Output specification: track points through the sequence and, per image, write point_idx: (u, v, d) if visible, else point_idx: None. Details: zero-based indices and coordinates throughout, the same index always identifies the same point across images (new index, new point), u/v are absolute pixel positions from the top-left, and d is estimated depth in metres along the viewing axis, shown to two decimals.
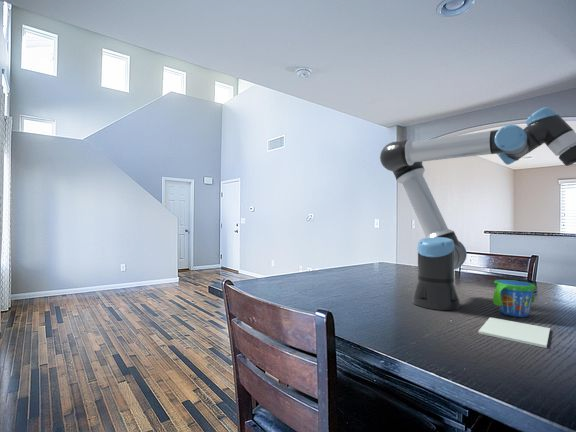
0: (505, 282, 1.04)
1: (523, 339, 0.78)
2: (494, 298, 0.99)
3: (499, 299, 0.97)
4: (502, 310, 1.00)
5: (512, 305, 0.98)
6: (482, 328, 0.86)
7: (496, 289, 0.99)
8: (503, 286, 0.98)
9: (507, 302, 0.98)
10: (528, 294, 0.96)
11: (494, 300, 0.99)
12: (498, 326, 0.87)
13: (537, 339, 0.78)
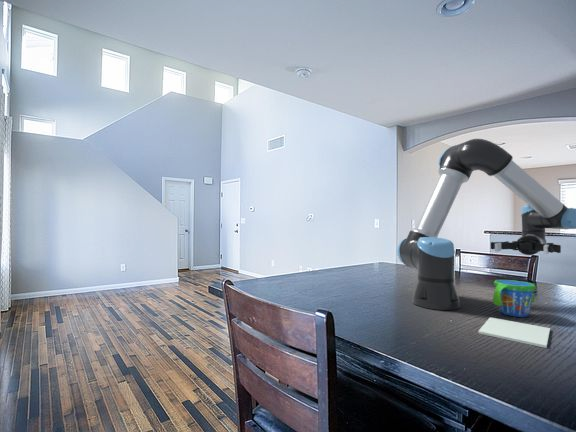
0: (505, 282, 1.04)
1: (523, 339, 0.78)
2: (494, 298, 0.99)
3: (499, 299, 0.97)
4: (502, 310, 1.00)
5: (512, 305, 0.98)
6: (482, 328, 0.86)
7: (496, 289, 0.99)
8: (503, 286, 0.98)
9: (507, 302, 0.98)
10: (528, 294, 0.96)
11: (494, 300, 0.99)
12: (498, 326, 0.87)
13: (537, 339, 0.78)
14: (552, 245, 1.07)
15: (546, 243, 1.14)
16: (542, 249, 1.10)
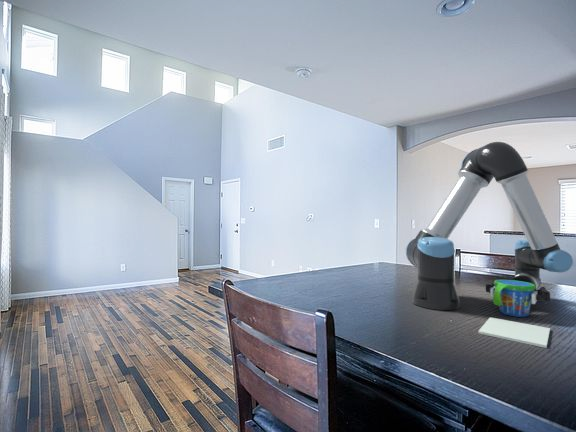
0: (505, 282, 1.04)
1: (523, 339, 0.78)
2: (494, 298, 0.99)
3: (499, 299, 0.97)
4: (502, 310, 1.01)
5: (512, 304, 0.98)
6: (482, 328, 0.86)
7: (496, 289, 0.99)
8: (503, 286, 0.98)
9: (507, 301, 0.98)
10: (527, 294, 0.96)
11: (494, 300, 0.99)
12: (498, 326, 0.87)
13: (537, 339, 0.78)
14: (541, 292, 0.98)
15: None
16: None
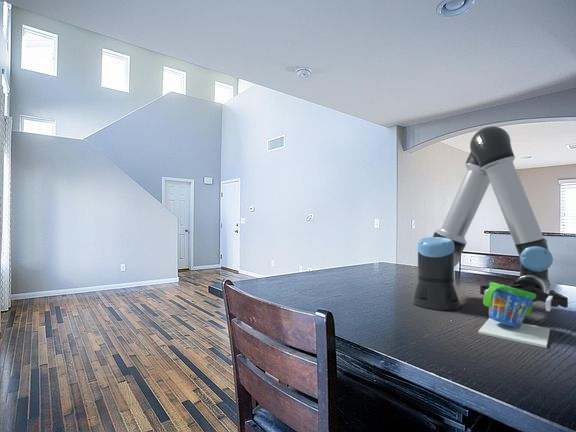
0: None
1: (523, 339, 0.78)
2: (484, 298, 0.86)
3: (490, 299, 0.85)
4: (491, 314, 0.88)
5: (504, 309, 0.85)
6: (482, 328, 0.86)
7: (489, 288, 0.86)
8: (498, 286, 0.85)
9: (499, 305, 0.86)
10: (525, 301, 0.83)
11: (484, 300, 0.86)
12: (498, 326, 0.87)
13: (537, 339, 0.78)
14: (557, 297, 0.84)
15: (549, 291, 0.91)
16: (544, 300, 0.88)
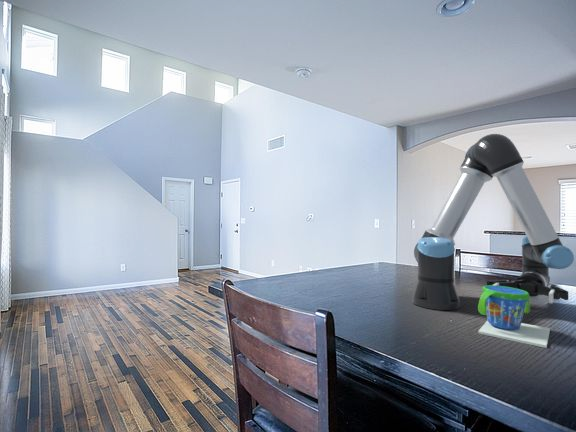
0: (496, 288, 0.90)
1: (523, 339, 0.78)
2: (479, 306, 0.86)
3: (484, 307, 0.85)
4: (489, 320, 0.88)
5: (499, 315, 0.85)
6: (482, 328, 0.86)
7: (482, 296, 0.86)
8: (490, 293, 0.85)
9: (494, 311, 0.86)
10: (518, 303, 0.83)
11: (479, 308, 0.86)
12: None
13: (537, 339, 0.78)
14: (558, 291, 0.91)
15: (551, 285, 0.98)
16: (546, 293, 0.95)
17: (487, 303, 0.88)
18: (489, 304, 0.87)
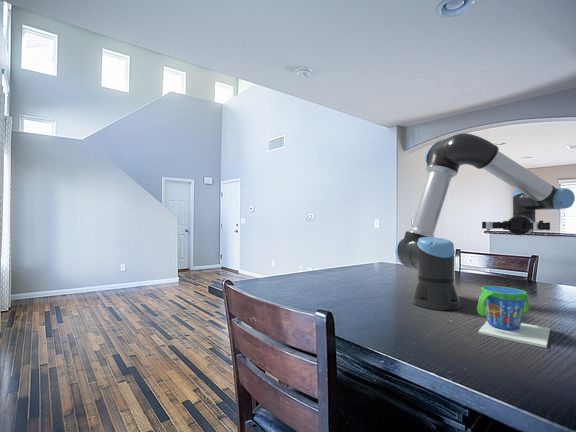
0: (494, 289, 0.91)
1: (523, 339, 0.78)
2: (478, 307, 0.87)
3: (483, 308, 0.85)
4: (489, 321, 0.88)
5: (499, 315, 0.85)
6: (482, 328, 0.86)
7: (480, 297, 0.86)
8: (488, 293, 0.86)
9: (494, 311, 0.86)
10: (517, 303, 0.83)
11: (478, 309, 0.87)
12: None
13: (537, 339, 0.78)
14: (542, 223, 1.09)
15: None
16: (532, 227, 1.12)
17: (486, 304, 0.88)
18: (488, 305, 0.87)
